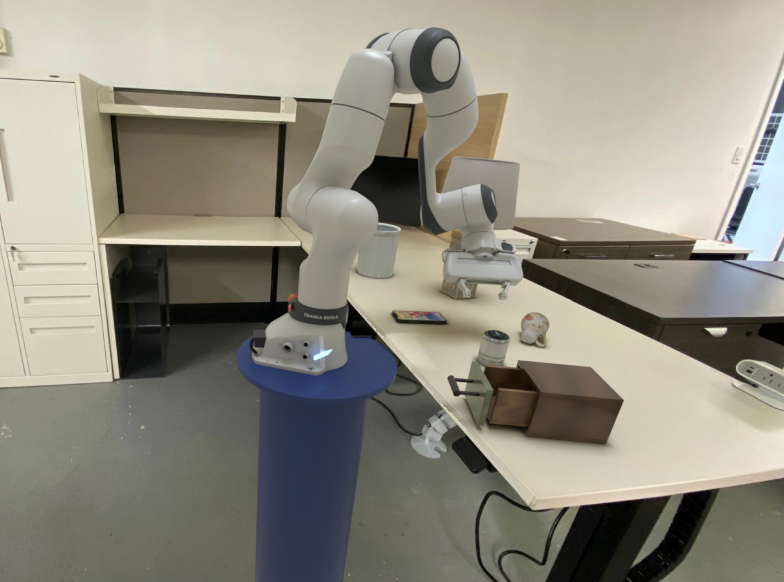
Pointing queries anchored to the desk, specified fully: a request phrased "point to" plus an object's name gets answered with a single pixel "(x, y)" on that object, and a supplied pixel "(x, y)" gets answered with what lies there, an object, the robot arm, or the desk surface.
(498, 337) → the camera lens
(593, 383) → the cabinet
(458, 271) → the robot arm
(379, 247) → the utensil holder
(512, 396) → the drawer
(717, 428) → the desk surface
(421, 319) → the smartphone
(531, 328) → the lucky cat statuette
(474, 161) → the lamp
